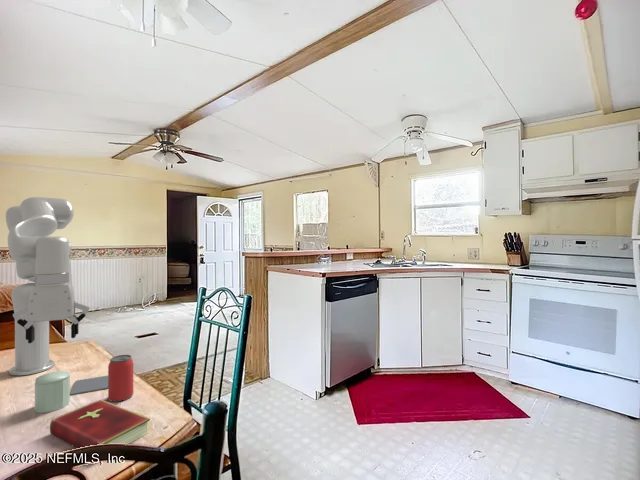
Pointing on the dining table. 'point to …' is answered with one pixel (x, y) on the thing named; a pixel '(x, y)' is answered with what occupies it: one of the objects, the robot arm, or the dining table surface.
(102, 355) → the dining table surface
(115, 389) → the beer can
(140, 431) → the hardcover book
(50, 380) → the mint green domed cylinder
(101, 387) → the slate mat
